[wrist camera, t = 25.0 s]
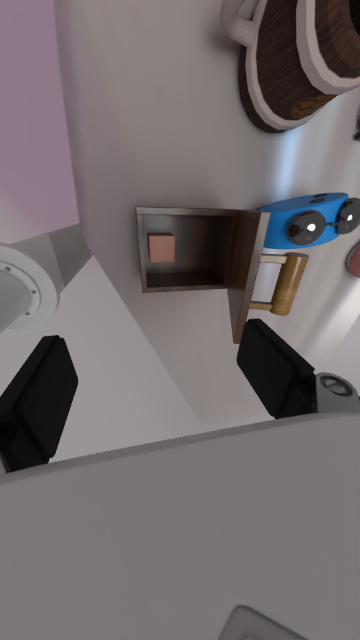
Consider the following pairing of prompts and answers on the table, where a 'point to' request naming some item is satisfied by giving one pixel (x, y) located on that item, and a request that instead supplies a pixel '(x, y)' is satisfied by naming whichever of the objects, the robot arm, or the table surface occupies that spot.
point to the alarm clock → (310, 220)
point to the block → (161, 247)
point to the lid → (246, 268)
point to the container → (354, 261)
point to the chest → (188, 247)
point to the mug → (294, 57)
